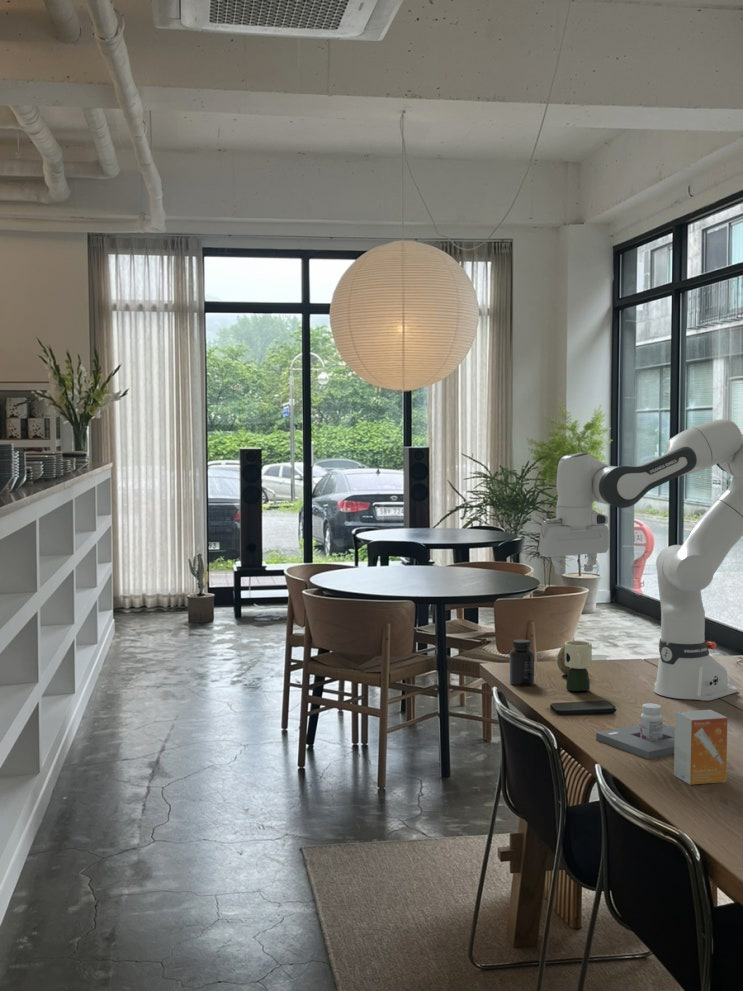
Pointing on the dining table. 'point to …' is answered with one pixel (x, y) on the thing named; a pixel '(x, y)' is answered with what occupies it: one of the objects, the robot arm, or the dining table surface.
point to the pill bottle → (651, 722)
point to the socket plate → (639, 741)
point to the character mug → (578, 664)
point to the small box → (700, 746)
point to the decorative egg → (562, 661)
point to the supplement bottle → (522, 663)
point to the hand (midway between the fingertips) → (574, 572)
